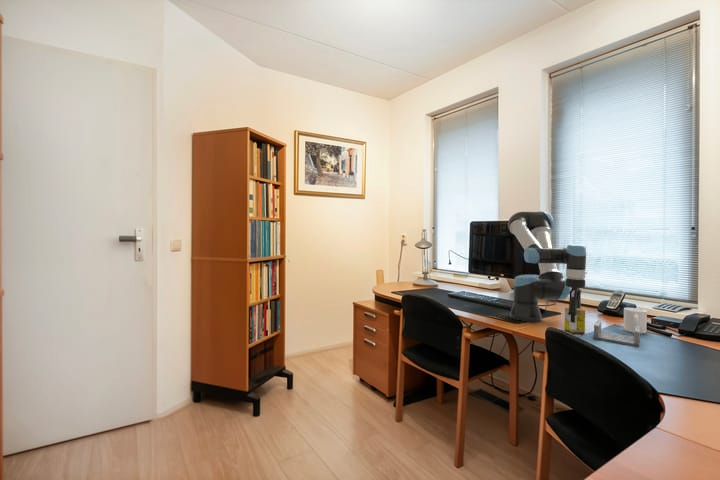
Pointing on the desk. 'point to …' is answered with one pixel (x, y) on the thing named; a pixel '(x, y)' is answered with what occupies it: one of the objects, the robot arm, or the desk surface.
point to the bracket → (616, 336)
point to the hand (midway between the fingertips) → (574, 327)
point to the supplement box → (580, 321)
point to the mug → (635, 319)
